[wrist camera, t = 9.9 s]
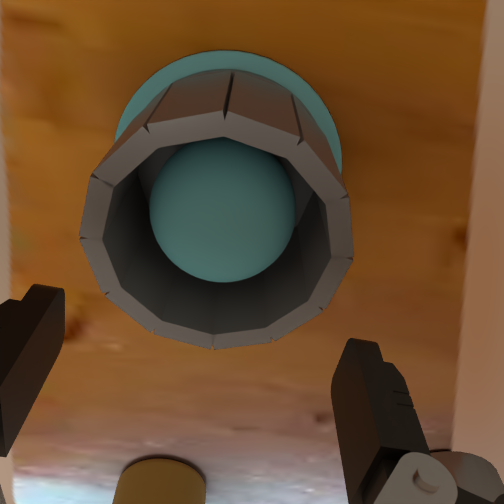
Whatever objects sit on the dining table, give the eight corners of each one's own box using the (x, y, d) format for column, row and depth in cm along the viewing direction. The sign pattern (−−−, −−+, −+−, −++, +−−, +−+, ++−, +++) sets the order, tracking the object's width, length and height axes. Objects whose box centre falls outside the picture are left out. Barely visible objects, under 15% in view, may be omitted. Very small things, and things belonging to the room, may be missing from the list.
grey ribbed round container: (384, 182, 24) (430, 264, 17) (220, 295, 28) (209, 396, 21) (239, -10, 19) (230, 7, 13) (68, 156, 23) (-2, 231, 17)
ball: (317, 188, 22) (335, 256, 17) (222, 257, 25) (213, 336, 19) (233, 87, 20) (224, 131, 15) (136, 173, 22) (99, 237, 17)
